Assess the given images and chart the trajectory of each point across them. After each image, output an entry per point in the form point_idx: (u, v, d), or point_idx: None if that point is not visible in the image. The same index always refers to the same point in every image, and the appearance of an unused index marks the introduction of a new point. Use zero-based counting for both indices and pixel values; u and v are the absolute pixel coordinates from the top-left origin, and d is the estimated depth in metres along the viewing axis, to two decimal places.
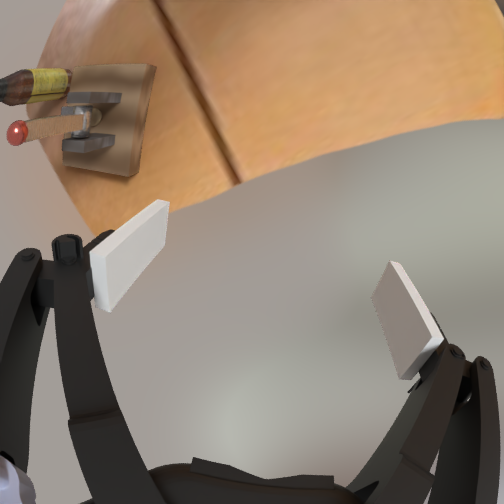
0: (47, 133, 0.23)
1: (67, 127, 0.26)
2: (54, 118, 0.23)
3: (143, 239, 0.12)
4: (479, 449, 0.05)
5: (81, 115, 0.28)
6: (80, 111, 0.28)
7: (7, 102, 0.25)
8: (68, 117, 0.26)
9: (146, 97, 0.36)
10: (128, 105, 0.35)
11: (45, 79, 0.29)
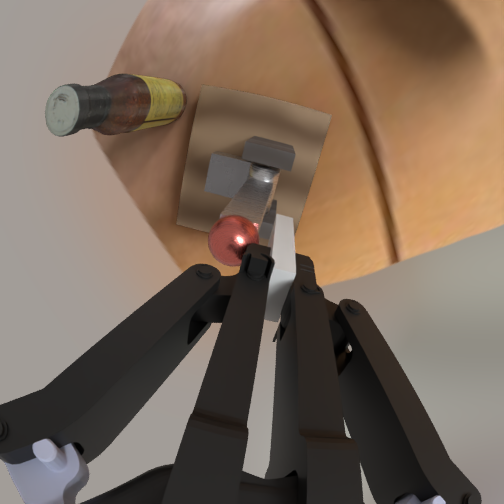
0: (259, 229, 0.19)
1: (265, 210, 0.22)
2: (266, 202, 0.20)
3: None
4: (395, 415, 0.06)
5: (272, 186, 0.24)
6: (270, 178, 0.24)
7: (104, 129, 0.20)
8: None
9: None
10: (301, 165, 0.31)
11: (163, 98, 0.25)
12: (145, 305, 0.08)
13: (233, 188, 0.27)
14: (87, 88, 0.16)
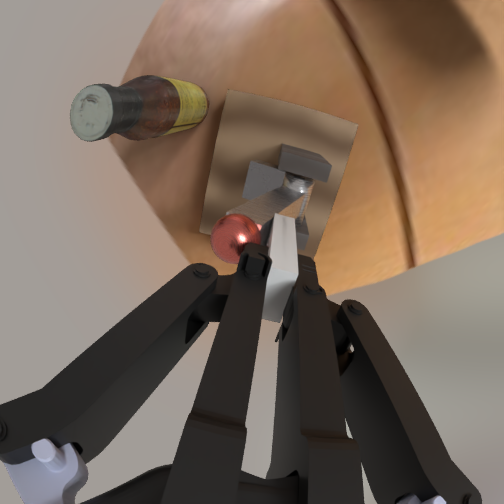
0: None
1: None
2: (285, 208, 0.19)
3: None
4: (397, 415, 0.06)
5: (304, 196, 0.24)
6: (302, 188, 0.24)
7: (132, 134, 0.20)
8: (295, 202, 0.22)
9: None
10: None
11: (190, 102, 0.24)
12: (142, 304, 0.08)
13: None
14: (118, 89, 0.15)
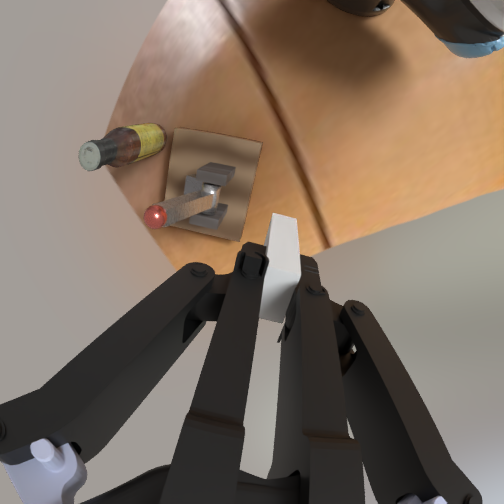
0: (183, 216, 0.35)
1: (199, 208, 0.38)
2: (189, 202, 0.35)
3: None
4: (398, 416, 0.06)
5: (211, 195, 0.39)
6: (210, 190, 0.40)
7: (113, 164, 0.36)
8: (201, 199, 0.37)
9: (255, 172, 0.48)
10: (243, 179, 0.46)
11: (149, 140, 0.40)
12: (140, 304, 0.08)
13: None
14: (103, 142, 0.31)
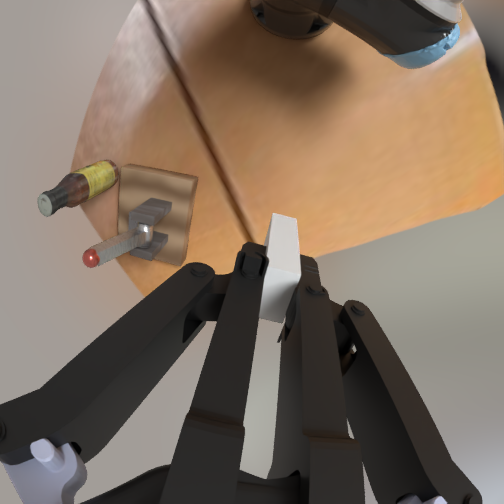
0: (115, 255, 0.40)
1: (131, 246, 0.43)
2: (120, 243, 0.40)
3: None
4: (398, 416, 0.06)
5: (143, 233, 0.45)
6: (143, 228, 0.45)
7: (67, 206, 0.41)
8: (132, 238, 0.42)
9: (192, 205, 0.53)
10: (178, 213, 0.51)
11: (98, 181, 0.45)
12: (140, 304, 0.08)
13: None
14: (54, 192, 0.36)
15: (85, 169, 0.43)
